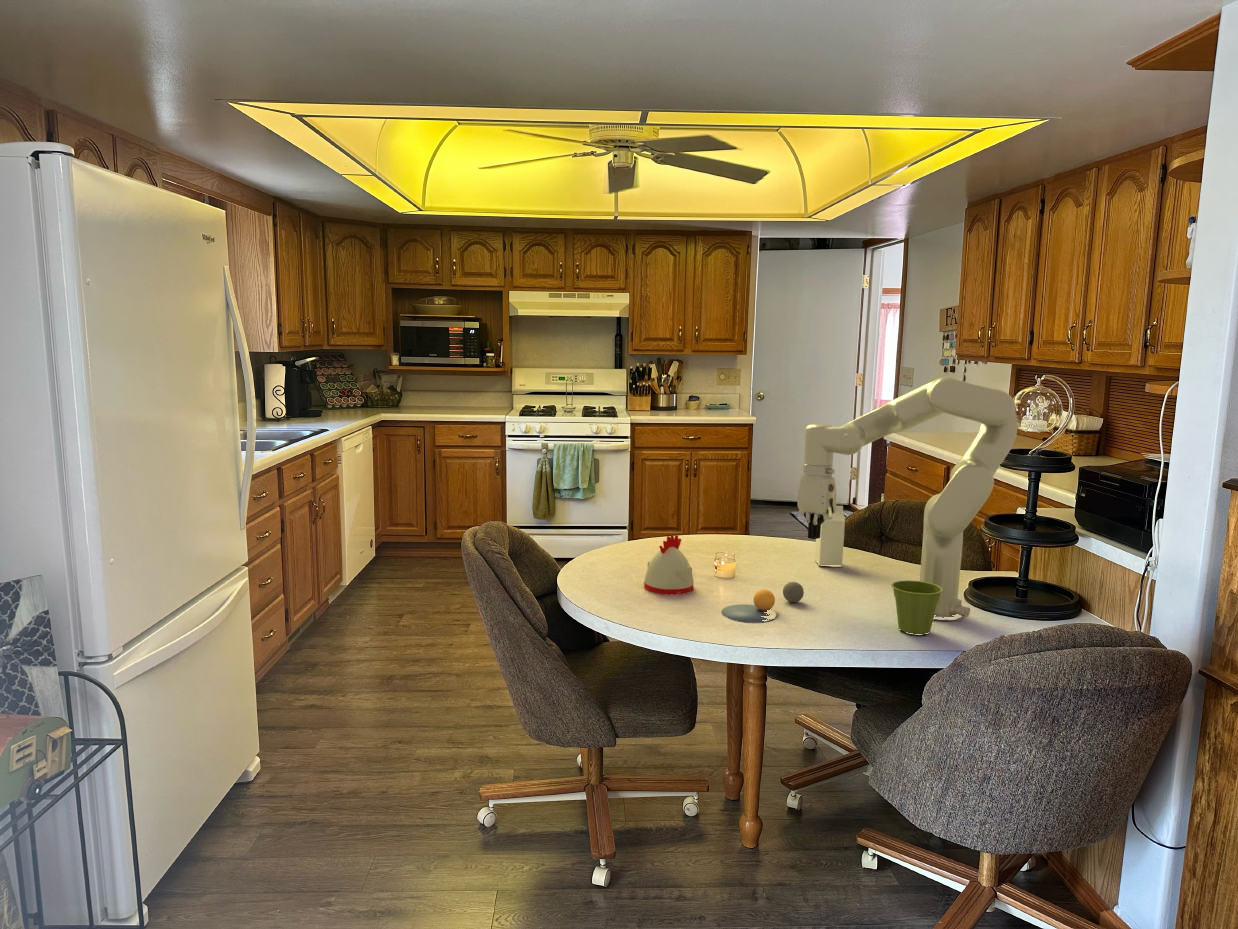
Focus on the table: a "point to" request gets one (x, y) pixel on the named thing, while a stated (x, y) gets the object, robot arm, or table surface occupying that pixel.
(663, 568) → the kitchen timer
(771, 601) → the object ball
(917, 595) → the plant pot
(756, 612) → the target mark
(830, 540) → the milk carton
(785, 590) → the gray ball
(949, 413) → the robot arm
